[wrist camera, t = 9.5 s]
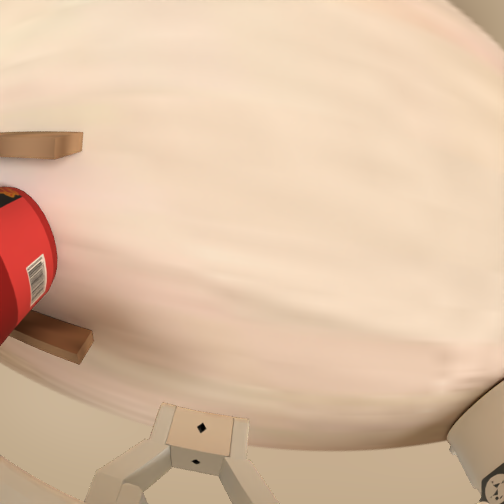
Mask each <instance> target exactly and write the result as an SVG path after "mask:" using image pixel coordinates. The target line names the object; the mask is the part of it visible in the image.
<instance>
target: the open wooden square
mask: <svg viewBox="0 0 504 504" xmlns="http://www.w3.org/2000/svg"><path fill="white" fill-rule="evenodd" d="M82 140H83V132H4V133H0V157H20V158H40V159H57V158H60V157H64V156H67V155H70V154H74V153H77V152H80V151H82ZM9 336H11V337H13V338H15V339H17V340H20V341H22V342H24V343H26V344H29V345H31V346H33V347H35V348H38V349H40V350H43V351H45V352H48V353H50V354H53V355H55V356H58V357H60V358H63V359H66V360H68V361H71V362H74V363H76V364H79V365H80V363H81V362H82V360H83V358H84V356H85V355H86V353H87V351H88V350H89V348H90V346H91V345H92V343H93V341H94V339H93V334H92V331H91V330H88V329H85V328H81V327H78V326H75V325H72V324H69V323H66V322H63V321H60V320H57V319H54V318H51V317H49V316H46V315H43V314H40V313H38V312H35V311H32V310H30V311H29V312H28V314H27V315H26V316H25V317H24V318H23V319H22V320H21V322H20V323H19V324H18V325H17V326H16V327H15V329H14V330H13V331H12V332H11V333H10V335H9Z"/></svg>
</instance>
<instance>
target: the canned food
mask: <svg viewBox="0 0 504 504" xmlns="http://www.w3.org/2000/svg"><path fill="white" fill-rule="evenodd" d="M56 270H57V251H56V245H55V241H54V236H53V234H52V231H51V228H50V225H49V223H48V221H47V219H46V217H45V215H44V214H43V212H42V211H41V209H40V208H39V206H38V205H37V204H36V202H35V201H34V200H33V199H32V198H31V197H30V196H29V195H27V194H26V193H25V192H23V191H21V190H19V189H17V188H12V187H0V346H1V344H2V343H3V342H4V341H5V340H6V338H7V337H8V336H9V335H10V333H11V332H12V331H13V330H14V329H15V327H16V326H17V325H18V324H19V323H20V322H21V320H22V319H23V318H24V317H25V316H26V315H27V314H28V312H29V311H30V310H31V309H32V308H33V307H34V306H35V305H36V304H37V303H38V301H39V300H40V299H41V298H42V297H43V296H44V295H45V294H46V293H47V292H48V290H49V288H50V286H51V284H52V282H53V279H54V277H55V274H56Z"/></svg>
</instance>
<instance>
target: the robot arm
mask: <svg viewBox="0 0 504 504" xmlns="http://www.w3.org/2000/svg"><path fill="white" fill-rule="evenodd" d="M248 431H249V420H248V419H244V418H237V417H233V416H226V415H220V414H214V413H208V412H201V411H196V410H192V409H187V408H183V407H179V406H176V405H171V404H167V403H162V404H161V406H160V409H159V411H158V414H157V417H156V420H155V423H154V426H153V429H152V432H151V435H150V438H149V440H148V439H144V440H142V441H141V442H139V443H138V444H137V445H135V446H134V447H132V448H131V449H129V450H128V451H126V452H125V453H123V454H122V455H120V456H119V457H117V458H115V459H114V460H112V461H111V462H109V463H108V464H106V465H104V466H103V467H101V468H100V469H98V470H97V471H96V473H95V475H94V478H93V480H92V483H91V485H90V488H89V490H88V493H87V496H86V498H85V501H84V502H83V501H81V500H79V499H76V498H74V497H72V496H70V495H68V494H66V493H64V492H62V491H60V490H58V489H56V488H54V487H52V486H50V485H48V484H47V483H45V482H43V481H41V480H39V479H37V478H36V477H34V476H32V475H31V474H29V473H27V472H26V471H24V470H22V469H21V468H19V467H18V466H16V465H15V464H13V463H12V462H10V461H9V460H7V459H5V458H4V457H3V456H1V455H0V504H148V503H147V501H146V498H145V496H144V493H143V492H144V491H145V490H146V489H148V488H149V487H150V486H151V485H153V484H154V483H155V482H156V481H157V480H158V479H160V478H161V477H162V476H163V475H164V474H165V473H166V472H168V471H169V470H170V469H171V467H176V468H180V469H185V470H191V471H196V472H200V473H205V474H210V475H216V476H219V478H220V480H221V482H222V484H223V486H224V488H225V490H226V492H227V494H228V496H229V498H230V500H231V502H232V504H280V503H279V501H278V500H277V499H276V497H275V496H274V494H273V493H272V491H271V490H270V489H269V487H268V486H267V484H266V483H265V481H264V480H263V478H262V477H261V475H260V474H259V472H258V471H257V469H256V468H255V466H254V464H253V463H252V461H251V460H247V459H246V456H247V444H248ZM447 441H448V443H449V444H450V445H451V446H450V452H451V453H452V455H457V457H458V459H459V461H460V463H461V465H462V467H463V469H464V471H465V473H466V475H467V477H468V479H469V481H470V483H471V485H472V486H473V488H475V489H477V490H478V491H479V492H480V494H481V499H480V500H479V501H480V502H479V503H476V504H504V380H503V381H502V382H501V383H499V384H498V385H497V386H495V387H494V388H493V389H492V390H490V391H489V392H488V393H487V394H485V395H484V396H483V397H482V398H481V399H479V400H478V401H477V402H476V403H475V404H474V405H473V406H472V407H471V408H469V409H468V410H467V411H466V412H465V413H464V414H463V415H462V416H461V417H460V418H459V420H458V421H457V422H456V423H455V424H454V425H453V427H452V428H451V430H450V431H449V433H448V435H447Z"/></svg>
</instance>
